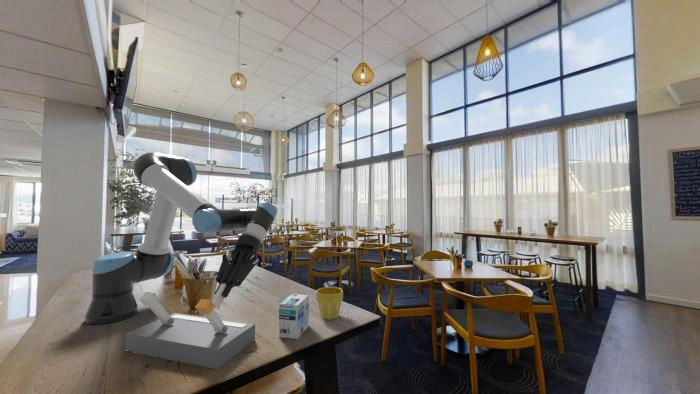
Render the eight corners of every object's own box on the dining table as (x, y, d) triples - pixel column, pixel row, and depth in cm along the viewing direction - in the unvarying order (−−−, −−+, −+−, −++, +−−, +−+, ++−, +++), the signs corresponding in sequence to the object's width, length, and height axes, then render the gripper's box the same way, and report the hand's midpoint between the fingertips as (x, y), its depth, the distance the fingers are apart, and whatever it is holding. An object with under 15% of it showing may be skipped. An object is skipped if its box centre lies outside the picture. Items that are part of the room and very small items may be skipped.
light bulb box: (297, 340, 86) (298, 305, 86) (277, 337, 87) (278, 303, 88) (309, 325, 97) (309, 294, 97) (291, 323, 98) (291, 293, 98)
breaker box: (125, 351, 79) (125, 332, 79) (174, 327, 95) (174, 312, 95) (217, 369, 70) (217, 348, 71) (255, 340, 86) (255, 323, 86)
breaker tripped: (214, 333, 80) (194, 307, 73) (220, 325, 82) (201, 298, 75) (224, 335, 79) (204, 308, 72) (229, 326, 81) (210, 299, 74)
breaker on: (161, 325, 85) (138, 299, 79) (168, 318, 87) (146, 291, 81) (169, 326, 84) (147, 300, 78) (175, 319, 86) (154, 292, 80)
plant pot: (310, 317, 104) (310, 291, 104) (328, 309, 112) (328, 285, 112) (330, 324, 97) (331, 296, 98) (348, 315, 106) (348, 289, 106)
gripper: (272, 247, 94) (239, 315, 78) (240, 245, 98) (202, 310, 82) (263, 233, 89) (226, 303, 73) (229, 232, 93) (187, 298, 77)
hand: (214, 307), depth 77 cm, fingers closed
